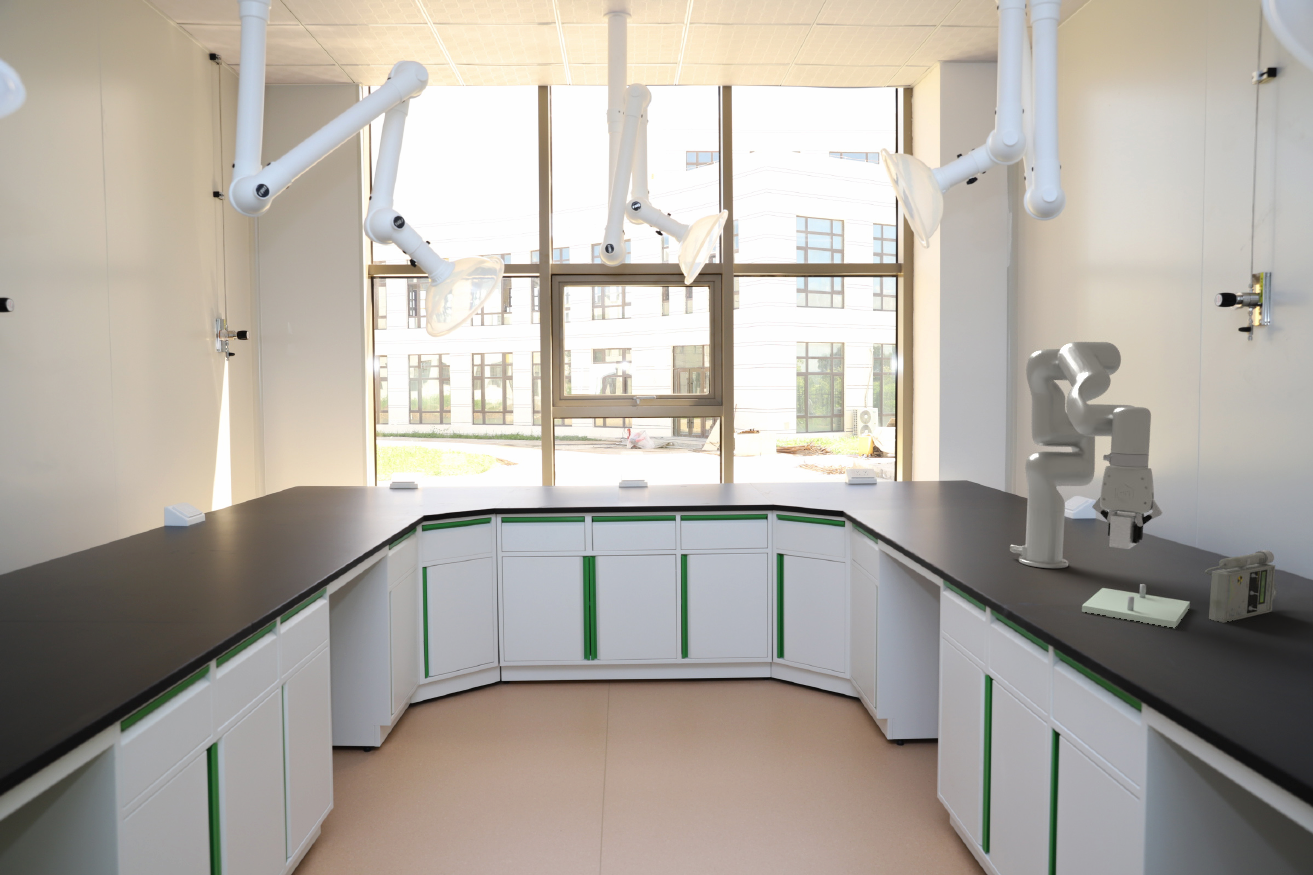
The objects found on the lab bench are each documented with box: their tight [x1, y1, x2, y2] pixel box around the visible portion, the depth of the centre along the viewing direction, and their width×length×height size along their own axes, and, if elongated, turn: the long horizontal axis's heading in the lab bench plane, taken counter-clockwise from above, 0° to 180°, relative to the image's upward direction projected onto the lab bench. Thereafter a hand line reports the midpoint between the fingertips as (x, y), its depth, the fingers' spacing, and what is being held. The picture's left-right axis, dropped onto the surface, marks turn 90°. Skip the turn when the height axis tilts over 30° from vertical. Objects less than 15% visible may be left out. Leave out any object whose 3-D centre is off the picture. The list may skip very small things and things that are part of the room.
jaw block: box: [1108, 511, 1139, 550], centre depth 188 cm, size 4×10×7 cm, turn 139°
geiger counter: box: [1204, 549, 1278, 624], centre depth 186 cm, size 14×6×25 cm
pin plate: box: [1081, 583, 1191, 629], centre depth 188 cm, size 18×20×4 cm
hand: (1124, 540), depth 188 cm, fingers closed on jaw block, 4 cm apart
